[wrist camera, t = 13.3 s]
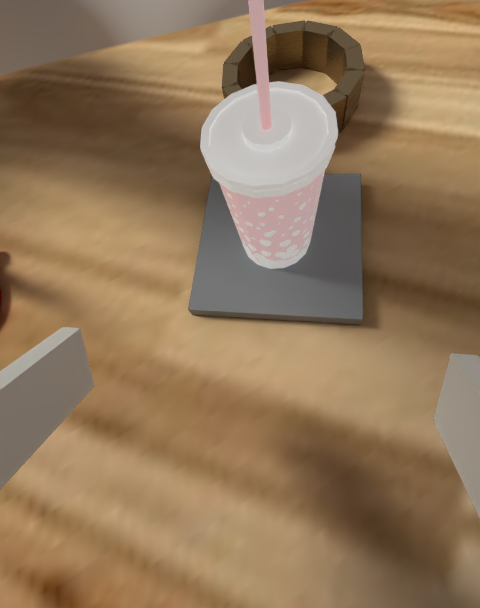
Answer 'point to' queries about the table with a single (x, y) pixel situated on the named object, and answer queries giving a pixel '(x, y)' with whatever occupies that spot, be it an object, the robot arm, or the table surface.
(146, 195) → the table surface
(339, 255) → the coaster
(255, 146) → the beverage cup
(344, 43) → the stone block ring
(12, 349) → the table surface
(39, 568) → the table surface
